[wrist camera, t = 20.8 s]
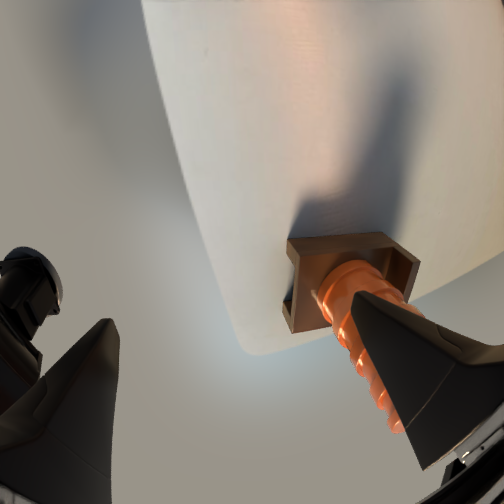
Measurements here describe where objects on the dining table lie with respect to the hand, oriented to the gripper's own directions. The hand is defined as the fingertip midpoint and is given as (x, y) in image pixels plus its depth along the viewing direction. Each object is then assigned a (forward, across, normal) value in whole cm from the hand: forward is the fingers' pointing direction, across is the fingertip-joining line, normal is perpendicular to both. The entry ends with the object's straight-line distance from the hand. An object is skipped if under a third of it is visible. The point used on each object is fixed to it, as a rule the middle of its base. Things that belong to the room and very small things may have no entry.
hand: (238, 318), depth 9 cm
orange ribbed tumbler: (+10, -11, +7) cm, 16 cm away
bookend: (+13, -11, +7) cm, 19 cm away
